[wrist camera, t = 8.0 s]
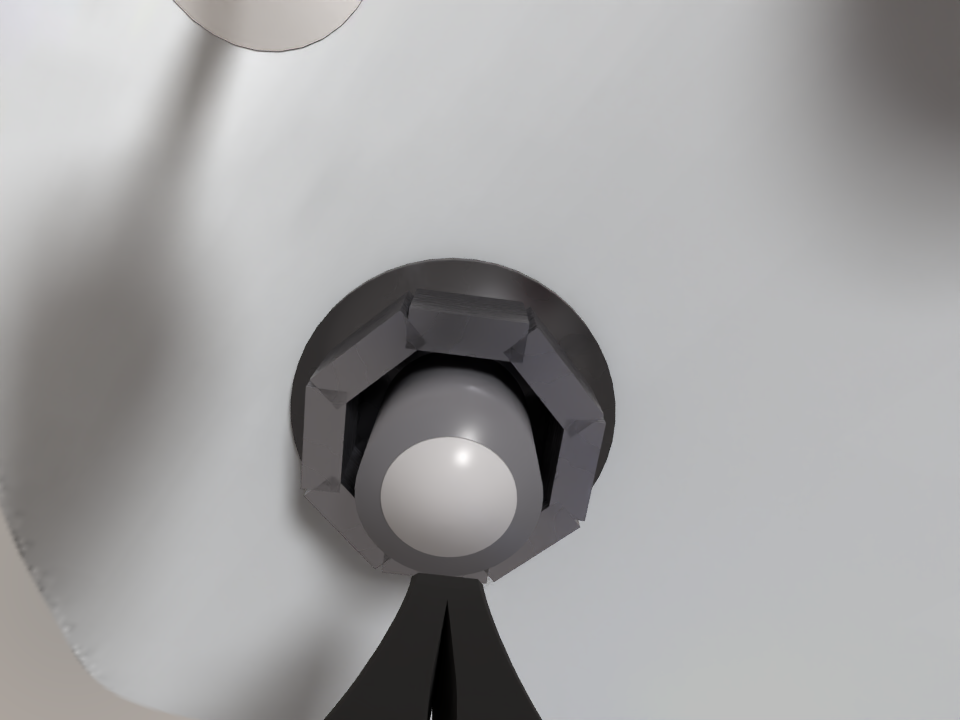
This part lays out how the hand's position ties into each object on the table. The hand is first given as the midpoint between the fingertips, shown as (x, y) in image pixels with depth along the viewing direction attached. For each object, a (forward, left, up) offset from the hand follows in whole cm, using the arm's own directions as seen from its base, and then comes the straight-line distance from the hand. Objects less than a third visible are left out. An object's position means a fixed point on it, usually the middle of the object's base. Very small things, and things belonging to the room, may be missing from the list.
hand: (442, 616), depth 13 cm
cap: (0, 0, -9) cm, 9 cm away
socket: (0, 0, -10) cm, 10 cm away
